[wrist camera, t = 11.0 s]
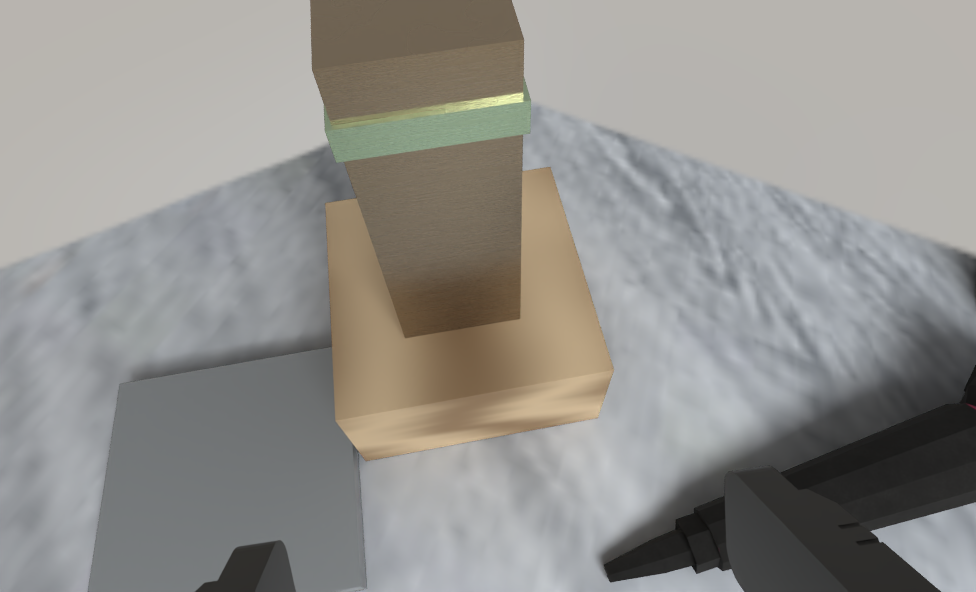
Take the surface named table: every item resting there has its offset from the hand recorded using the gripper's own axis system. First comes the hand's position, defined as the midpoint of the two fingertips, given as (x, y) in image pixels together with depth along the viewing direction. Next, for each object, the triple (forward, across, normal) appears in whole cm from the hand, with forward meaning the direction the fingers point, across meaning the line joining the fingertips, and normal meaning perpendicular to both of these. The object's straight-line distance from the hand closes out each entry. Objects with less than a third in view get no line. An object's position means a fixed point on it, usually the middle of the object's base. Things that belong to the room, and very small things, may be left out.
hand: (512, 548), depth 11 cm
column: (+14, 0, -2) cm, 14 cm away
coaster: (+14, +10, +5) cm, 18 cm away
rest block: (+18, 0, +1) cm, 18 cm away
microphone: (+12, -14, +8) cm, 20 cm away
